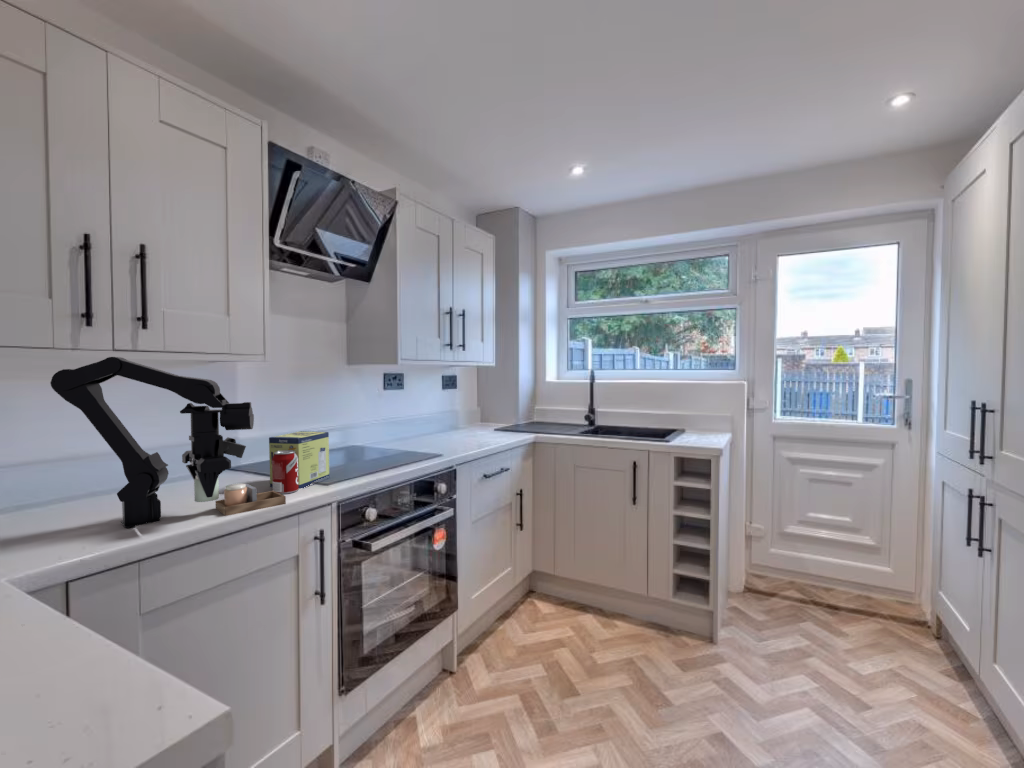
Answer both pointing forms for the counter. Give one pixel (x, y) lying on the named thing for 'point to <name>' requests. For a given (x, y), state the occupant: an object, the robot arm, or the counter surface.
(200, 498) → the sage jar
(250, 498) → the bar
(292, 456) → the soda can
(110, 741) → the counter surface
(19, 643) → the counter surface
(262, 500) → the wooden tray
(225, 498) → the terracotta jar
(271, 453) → the protein box
